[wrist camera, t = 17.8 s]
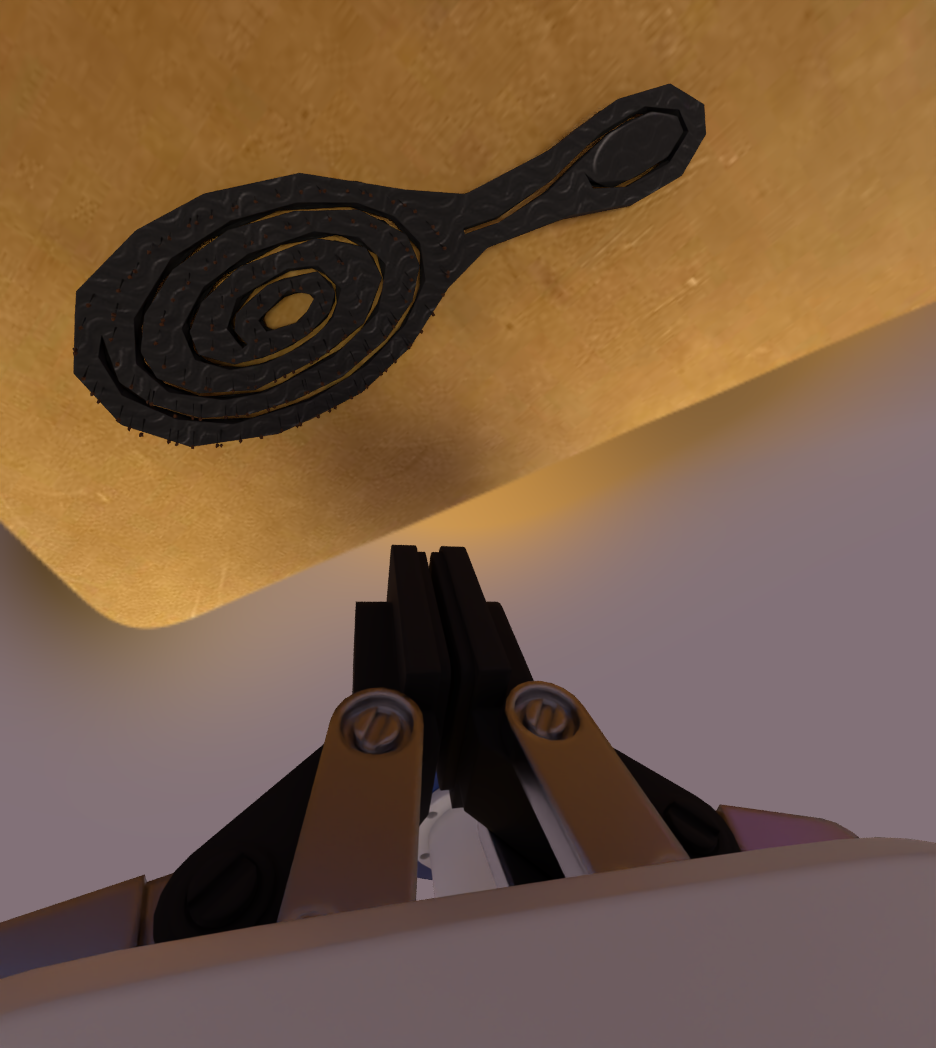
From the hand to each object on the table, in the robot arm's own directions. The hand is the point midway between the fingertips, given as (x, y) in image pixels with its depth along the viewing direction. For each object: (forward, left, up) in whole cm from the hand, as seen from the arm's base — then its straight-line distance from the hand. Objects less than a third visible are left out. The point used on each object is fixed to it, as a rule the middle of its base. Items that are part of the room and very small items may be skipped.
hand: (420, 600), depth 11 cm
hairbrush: (+8, 0, -13) cm, 15 cm away
